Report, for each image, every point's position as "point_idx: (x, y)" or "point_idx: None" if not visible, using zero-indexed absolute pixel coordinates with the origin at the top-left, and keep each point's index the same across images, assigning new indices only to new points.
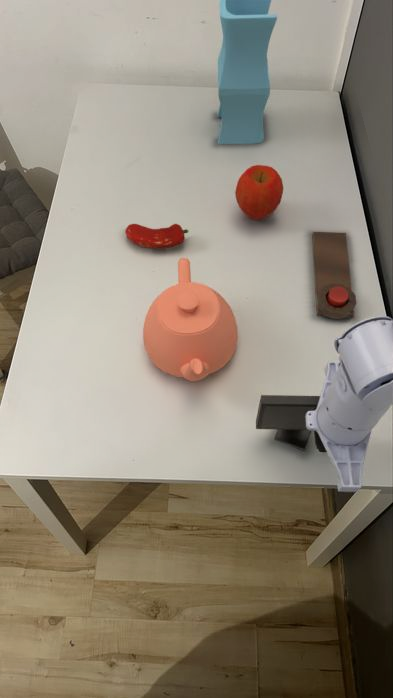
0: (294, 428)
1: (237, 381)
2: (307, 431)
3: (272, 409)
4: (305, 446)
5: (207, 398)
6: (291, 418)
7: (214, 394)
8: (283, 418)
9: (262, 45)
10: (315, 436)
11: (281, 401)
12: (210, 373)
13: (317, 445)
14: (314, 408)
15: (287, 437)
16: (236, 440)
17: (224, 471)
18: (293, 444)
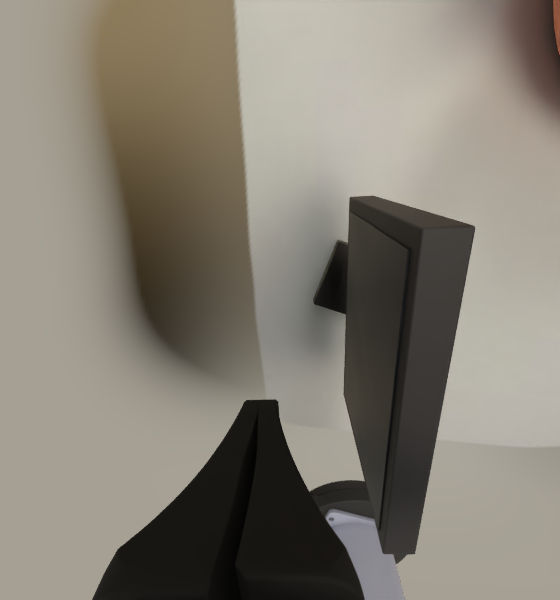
0: (347, 301)
1: (501, 140)
2: None
3: (391, 272)
4: (320, 305)
5: (462, 45)
6: (363, 315)
7: (472, 69)
8: (364, 291)
9: None
10: (151, 597)
11: (423, 327)
12: (557, 33)
13: (102, 594)
14: (348, 582)
15: (339, 269)
16: (334, 146)
17: (254, 117)
18: (324, 281)
